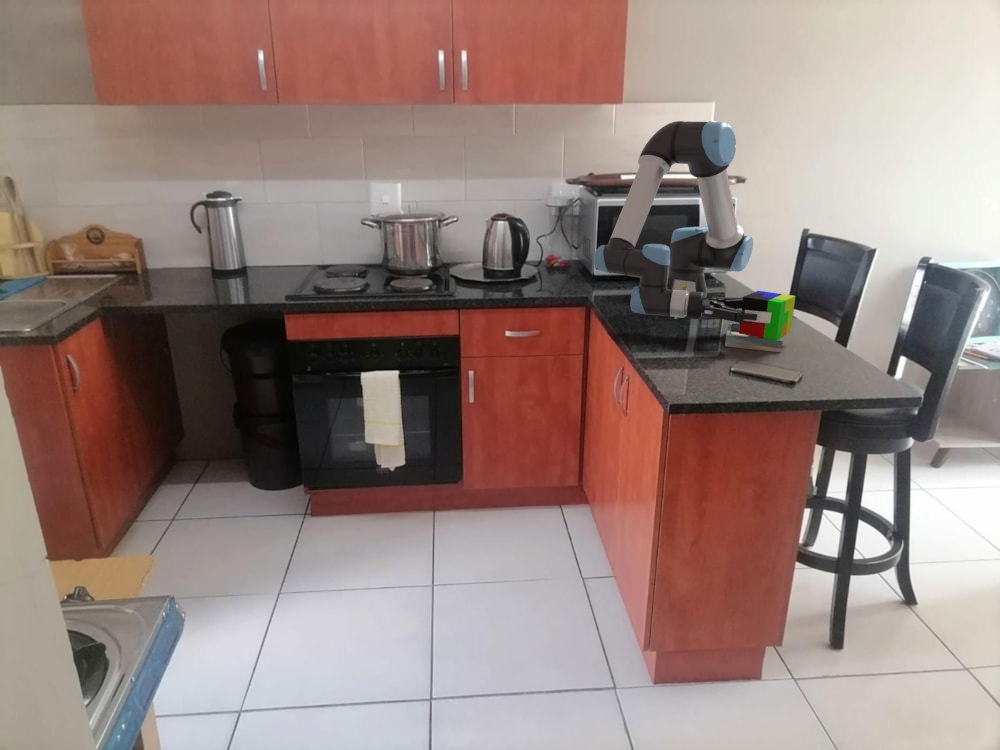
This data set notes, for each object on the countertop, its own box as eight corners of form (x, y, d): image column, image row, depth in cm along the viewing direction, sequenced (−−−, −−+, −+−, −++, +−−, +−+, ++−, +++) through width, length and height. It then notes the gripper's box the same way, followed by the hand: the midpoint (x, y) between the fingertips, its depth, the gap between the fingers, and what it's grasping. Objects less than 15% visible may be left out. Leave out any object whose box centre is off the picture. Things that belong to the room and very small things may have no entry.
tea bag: (673, 309, 224) (676, 278, 221) (694, 312, 221) (697, 281, 217) (669, 311, 222) (671, 280, 218) (689, 315, 218) (692, 283, 214)
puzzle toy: (754, 326, 195) (758, 290, 192) (790, 332, 189) (795, 295, 186) (738, 333, 188) (743, 296, 185) (776, 340, 182) (781, 302, 179)
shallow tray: (727, 332, 199) (729, 322, 198) (780, 337, 195) (782, 327, 194) (724, 346, 187) (726, 335, 186) (781, 352, 182) (782, 341, 181)
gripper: (691, 308, 206) (769, 315, 199) (681, 328, 184) (768, 337, 177) (694, 282, 203) (773, 289, 196) (683, 300, 182) (772, 308, 175)
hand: (771, 312), depth 187 cm, fingers closed on puzzle toy, 12 cm apart
